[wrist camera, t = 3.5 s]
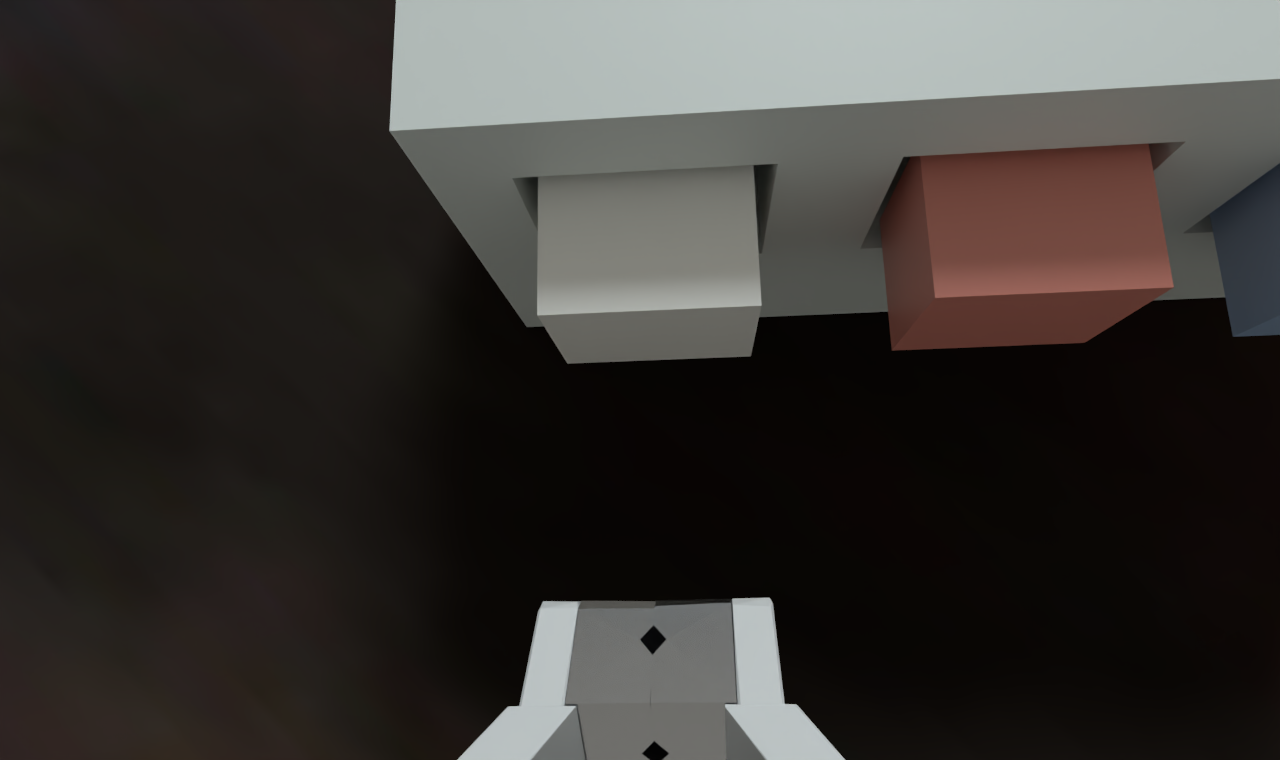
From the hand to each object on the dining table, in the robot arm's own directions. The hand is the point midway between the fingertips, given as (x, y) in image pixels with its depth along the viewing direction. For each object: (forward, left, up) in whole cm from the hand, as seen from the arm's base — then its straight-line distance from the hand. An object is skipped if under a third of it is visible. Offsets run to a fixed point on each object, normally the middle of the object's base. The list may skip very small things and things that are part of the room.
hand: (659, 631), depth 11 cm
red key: (+9, +4, -6) cm, 12 cm away
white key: (+2, +6, -6) cm, 9 cm away
